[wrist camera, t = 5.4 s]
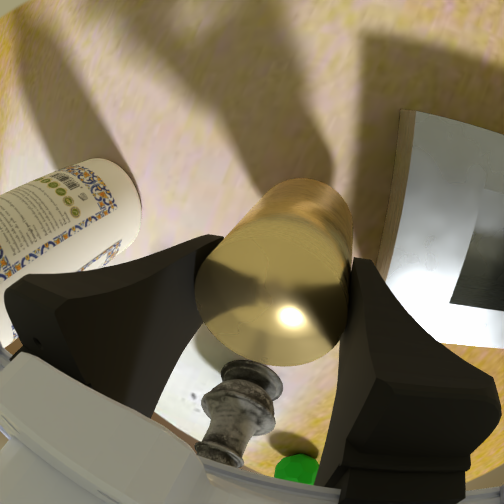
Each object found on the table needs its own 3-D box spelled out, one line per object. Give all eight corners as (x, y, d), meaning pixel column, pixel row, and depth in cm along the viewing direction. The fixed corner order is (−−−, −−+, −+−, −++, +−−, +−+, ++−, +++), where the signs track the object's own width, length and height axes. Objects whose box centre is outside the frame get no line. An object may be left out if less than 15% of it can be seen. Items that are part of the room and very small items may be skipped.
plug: (360, 186, 13) (363, 254, 7) (344, 276, 15) (330, 377, 10) (257, 172, 14) (189, 226, 8) (254, 261, 16) (200, 347, 11)
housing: (575, 166, 9) (614, 186, 6) (528, 311, 14) (548, 351, 11) (400, 108, 13) (415, 110, 9) (370, 287, 17) (370, 332, 14)
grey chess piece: (250, 347, 22) (179, 491, 12) (301, 392, 23) (257, 529, 13) (205, 370, 25) (136, 485, 15) (252, 409, 26) (202, 522, 16)
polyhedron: (304, 443, 27) (293, 482, 23) (334, 460, 27) (325, 497, 23) (271, 451, 29) (258, 486, 25) (300, 468, 30) (290, 502, 26)
